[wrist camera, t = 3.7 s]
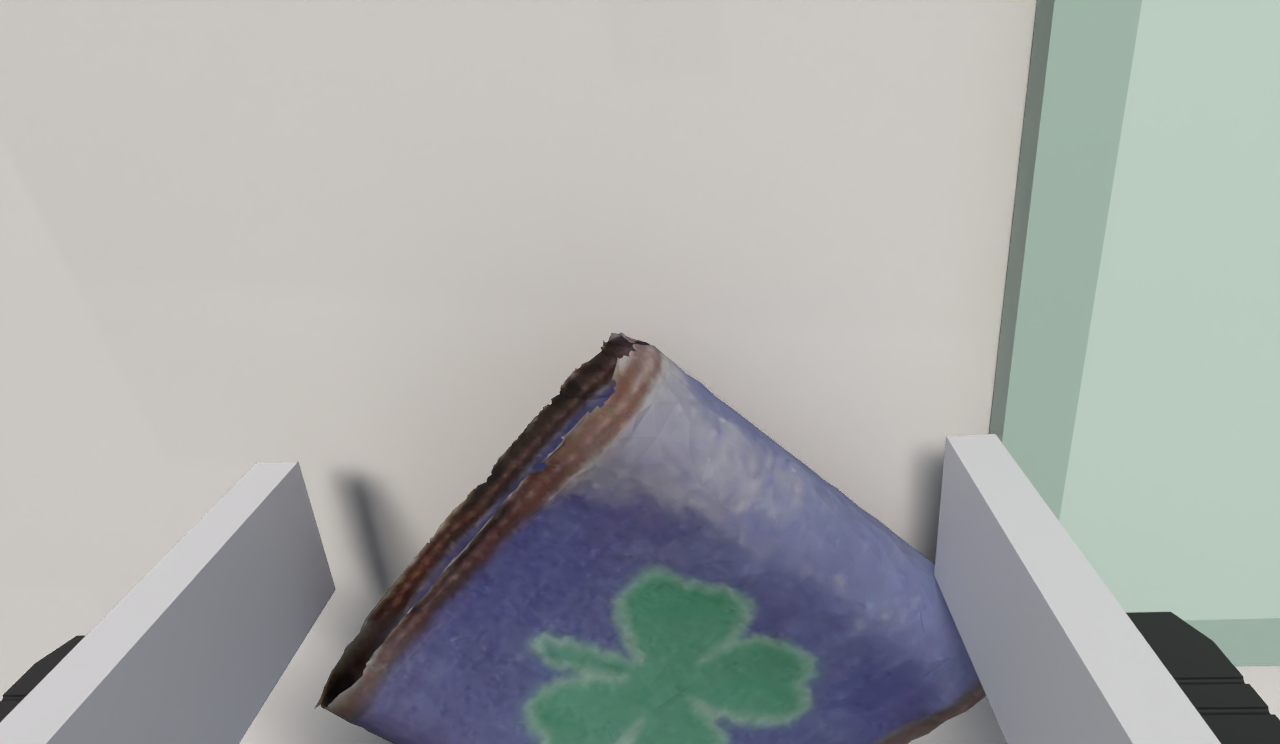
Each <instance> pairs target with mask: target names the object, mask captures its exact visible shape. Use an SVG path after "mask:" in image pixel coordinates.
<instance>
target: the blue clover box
mask: <svg viewBox="0 0 1280 744" xmlns="http://www.w3.org/2000/svg"><path fill="white" fill-rule="evenodd" d="M603 346H604V347H601V349H602V351H601V352H600V353H599V354H598V355H596V356H595V357H594V358H593V359H591V360H590V361H589V362H587V363H584V364H582V366H581V367H580V368H579V369H575V370H574V372H573V373H572V374H571V375H570V376H569V378H568V379H567V380H566V381H565V382H564V384H563V385H561V391H560V394H559V395H557V396H556V397H554V398H552V399H551V400H552V404H551V405H549V404H548V405H547V406H545V407H543V410H542V411H540V413H539V415H538V416H536V417H535V418H534V419H533V420H532V422H531V423H530V424H528V426H527V428H526V429H525V430H524V431H523V433H522V434H521V435H520V436H519V437H518V439H517V440H516V441H514V442H513V444H512V446H511V447H509V448H508V450H507V451H506V452H505V453H504V454H503V455H502V456H501V457H500V458H499V459H498V462H497V463H496V464H495V465H494V466H493V470H492V472H491V473H492V475H491V476H489V477H488V478H487V482H486V483H483V484H481V485H479V486H477V488H476V489H473V490H472V492H471V493H470V494H469V495H468V497H467V499H466V500H465V501H464V502H463V503H461V504H460V505H459V506H458V507H457V508H455V509H454V510H453V511H452V512H451V514H450V515H449V516H448V517H447V518H446V520H445V521H444V523H442V524H441V525H440V527H439V528H438V530H437V532H436V533H435V535H434V537H432V538H430V543H427V544H426V546H424V548H423V549H422V550H421V551H420V553H419V555H418V556H416V557H415V558H414V560H413V561H412V562H411V564H410V565H409V566H408V568H407V569H406V570H405V571H404V572H403V574H401V576H400V578H399V579H398V580H397V581H396V582H395V583H394V585H393V586H392V587H391V588H390V589H389V591H388V592H387V593H386V595H385V596H384V597H383V598H382V599H381V601H380V602H379V603H378V604H377V606H376V607H375V608H374V609H373V610H372V612H371V613H370V614H369V615H368V617H367V618H366V620H365V622H364V624H363V626H362V628H361V631H360V633H359V634H358V635H357V637H356V638H355V639H354V641H352V642H351V643H350V644H349V645H348V646H347V647H346V648H345V650H344V653H343V655H342V657H341V659H340V660H339V662H338V663H337V665H336V666H335V668H334V669H333V670H332V672H331V674H330V676H329V678H328V681H327V683H326V685H325V687H324V690H323V693H322V696H321V698H320V700H319V702H318V703H317V705H316V707H318V706H319V705H320V704H321V707H322V708H323V709H327V710H328V711H330V712H332V713H334V714H335V715H337V716H339V717H341V718H343V719H344V720H346V721H348V722H350V723H352V724H355V725H357V726H360V727H363V728H364V729H366V730H367V731H369V732H371V733H373V734H375V735H377V736H379V737H381V738H383V739H385V740H387V741H389V742H391V743H393V744H908V743H909V742H910V741H912V740H914V739H916V738H919V737H921V736H924V735H926V734H928V733H930V732H931V731H932V730H934V729H935V728H937V727H938V726H939V725H941V724H942V723H943V722H945V721H946V720H948V719H950V718H953V717H955V716H957V715H959V714H961V713H963V712H965V711H967V710H969V709H970V708H971V707H972V706H974V705H975V704H976V703H977V702H979V701H980V700H981V699H983V698H984V697H985V696H986V694H985V691H984V689H983V687H982V684H981V682H980V680H979V677H978V675H977V673H976V670H975V668H974V666H973V664H972V661H971V659H970V657H969V654H968V652H967V650H966V647H965V645H964V643H963V640H962V638H961V636H960V634H959V631H958V629H957V627H956V624H955V622H954V620H953V617H952V615H951V613H950V610H949V608H948V606H947V603H946V601H945V599H944V597H943V594H942V592H941V590H940V587H939V585H938V583H937V580H936V578H935V576H934V570H935V564H934V563H933V562H932V561H930V560H929V559H927V558H926V557H924V556H923V555H922V554H920V553H919V552H918V551H917V550H915V549H914V548H913V547H911V546H910V545H909V544H908V543H906V542H905V541H904V540H902V539H901V538H900V537H899V536H897V535H896V534H895V533H894V532H892V531H891V530H890V529H889V528H887V527H886V526H885V525H884V524H882V523H881V522H880V521H879V520H877V519H876V518H874V517H873V516H871V515H870V514H869V513H867V512H866V511H864V510H863V509H861V508H860V507H859V506H857V505H856V504H855V503H854V502H853V501H851V500H850V499H849V498H848V497H847V496H845V495H844V494H843V493H842V492H841V491H839V490H838V489H837V488H835V487H834V486H832V485H830V484H829V483H827V482H826V481H825V480H823V479H822V478H821V477H820V476H819V475H817V474H816V473H815V472H814V471H812V470H811V469H810V468H809V467H807V466H806V465H805V464H803V463H802V462H801V461H800V460H798V459H797V458H795V457H794V456H793V455H791V454H790V453H789V452H787V451H786V450H785V449H783V448H782V447H781V446H779V445H778V444H777V443H776V442H774V441H773V440H772V439H771V438H769V437H768V436H767V435H766V434H764V433H763V432H762V431H760V430H759V429H758V428H757V427H755V426H754V425H753V424H751V423H750V422H749V421H748V420H746V419H745V418H744V417H742V416H741V415H740V414H738V413H737V412H736V411H734V410H733V409H732V408H730V407H729V406H728V405H726V404H725V403H724V402H722V401H721V400H719V399H718V398H717V397H715V396H714V395H713V394H712V393H711V392H710V391H709V390H708V389H707V388H706V387H705V386H704V385H703V384H701V383H700V382H699V381H697V380H695V379H694V378H692V377H690V376H689V375H687V374H685V373H684V372H683V371H682V370H681V369H680V368H679V367H678V366H677V365H676V364H675V363H674V362H673V361H671V360H670V359H669V358H668V357H667V356H665V355H664V354H663V353H662V352H660V351H659V350H658V349H657V348H656V347H654V346H652V345H650V344H648V343H646V342H642V341H639V340H635V339H631V338H629V337H627V336H625V335H624V334H623V333H620V334H615V333H611V336H610V338H609V341H608V342H606V343H605V342H603ZM316 707H315V708H316Z"/></svg>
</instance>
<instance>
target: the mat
mask: <svg viewBox="0 0 1280 744" xmlns="http://www.w3.org/2000/svg"><path fill="white" fill-rule="evenodd" d="M989 434H996V435H997V437H998V438H999V440H1000V441H1001V442H1002V444H1003V445H1004V446H1005V448H1006V449H1007V451H1008V452H1009V453H1010V455H1011V456H1012V457H1013V459H1014V460H1015V462H1016V463H1017V464H1018V466H1019V467H1020V468H1021V470H1022V471H1023V473H1024V474H1025V475H1026V477H1027V478H1028V479H1029V481H1030V482H1031V483H1032V485H1033V486H1034V488H1035V489H1036V490H1037V492H1038V493H1039V494H1040V496H1041V497H1042V499H1043V500H1044V501H1045V503H1046V504H1047V505H1048V507H1049V508H1050V510H1051V511H1052V512H1053V514H1054V515H1055V516H1056V518H1057V519H1058V521H1059V522H1060V523H1061V525H1062V526H1063V527H1064V529H1065V530H1066V532H1067V533H1068V534H1069V536H1070V537H1071V538H1072V540H1073V541H1074V542H1075V544H1076V545H1077V547H1078V548H1079V549H1080V551H1081V552H1082V553H1083V555H1084V556H1085V558H1086V559H1087V560H1088V562H1089V563H1090V564H1091V566H1092V567H1093V569H1094V570H1095V571H1096V573H1097V574H1098V575H1099V577H1100V578H1101V580H1102V581H1103V582H1104V584H1105V585H1106V586H1107V588H1108V589H1109V591H1110V592H1111V593H1112V595H1113V596H1114V597H1115V599H1116V600H1117V601H1118V603H1119V604H1120V606H1121V607H1122V608H1123V610H1124V611H1125V612H1126V613H1130V612H1172V613H1173V614H1175V615H1176V616H1178V617H1179V618H1181V619H1182V620H1184V621H1185V622H1186V623H1188V624H1189V625H1191V626H1192V627H1194V628H1195V629H1197V630H1198V631H1199V632H1201V633H1202V634H1204V635H1205V636H1207V637H1208V638H1209V639H1211V640H1212V641H1214V642H1215V644H1216V645H1217V646H1218V647H1219V648H1220V650H1221V651H1222V652H1223V653H1224V654H1225V656H1226V657H1227V658H1228V659H1229V660H1230V662H1231V663H1232V664H1233V665H1234V666H1280V0H1037V9H1036V18H1035V27H1034V36H1033V45H1032V54H1031V63H1030V72H1029V81H1028V90H1027V99H1026V108H1025V117H1024V126H1023V135H1022V144H1021V153H1020V162H1019V171H1018V180H1017V189H1016V198H1015V207H1014V216H1013V225H1012V234H1011V243H1010V252H1009V261H1008V270H1007V279H1006V288H1005V297H1004V306H1003V315H1002V324H1001V333H1000V342H999V351H998V360H997V368H996V377H995V386H994V395H993V404H992V413H991V422H990V431H989Z"/></svg>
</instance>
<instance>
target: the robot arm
mask: <svg viewBox="0 0 1280 744" xmlns="http://www.w3.org/2000/svg"><path fill="white" fill-rule="evenodd" d="M934 576H935V578H936V580H937V583H938V585H939V587H940V590H941V592H942V594H943V597H944V599H945V601H946V603H947V606H948V608H949V610H950V613H951V615H952V617H953V620H954V622H955V624H956V627H957V629H958V631H959V634H960V636H961V638H962V640H963V643H964V645H965V647H966V650H967V652H968V654H969V657H970V659H971V661H972V664H973V666H974V668H975V670H976V673H977V675H978V677H979V680H980V682H981V684H982V687H983V689H984V691H985V694H986V696H987V698H988V701H989V703H990V705H991V707H992V710H993V712H994V714H995V717H996V719H997V721H998V724H999V726H1000V728H1001V731H1002V733H1003V735H1004V737H1005V740H1006V742H1007V744H1280V720H1279V719H1278V718H1277V717H1276V715H1271V714H1270V713H1269V710H1268V706H1267V705H1266V703H1265V702H1264V701H1263V700H1262V699H1261V697H1260V696H1259V695H1258V694H1257V693H1256V691H1255V690H1254V689H1253V688H1252V687H1251V685H1250V684H1245V683H1244V680H1243V676H1242V675H1241V673H1240V672H1239V671H1238V670H1237V669H1236V668H1235V666H1234V665H1233V664H1232V663H1231V662H1230V660H1229V659H1228V658H1227V657H1226V656H1225V654H1224V653H1223V652H1222V651H1221V650H1220V648H1219V647H1218V646H1217V645H1216V644H1215V642H1214V641H1212V640H1211V639H1209V638H1208V637H1207V636H1205V635H1204V634H1202V633H1201V632H1199V631H1198V630H1197V629H1195V628H1194V627H1192V626H1191V625H1189V624H1188V623H1186V622H1185V621H1184V620H1182V619H1181V618H1179V617H1178V616H1176V615H1175V614H1173V613H1172V612H1130V613H1126V612H1125V611H1124V610H1123V608H1122V607H1121V606H1120V604H1119V603H1118V601H1117V600H1116V599H1115V597H1114V596H1113V595H1112V593H1111V592H1110V591H1109V589H1108V588H1107V586H1106V585H1105V584H1104V582H1103V581H1102V580H1101V578H1100V577H1099V575H1098V574H1097V573H1096V571H1095V570H1094V569H1093V567H1092V566H1091V564H1090V563H1089V562H1088V560H1087V559H1086V558H1085V556H1084V555H1083V553H1082V552H1081V551H1080V549H1079V548H1078V547H1077V545H1076V544H1075V542H1074V541H1073V540H1072V538H1071V537H1070V536H1069V534H1068V533H1067V532H1066V530H1065V529H1064V527H1063V526H1062V525H1061V523H1060V522H1059V521H1058V519H1057V518H1056V516H1055V515H1054V514H1053V512H1052V511H1051V510H1050V508H1049V507H1048V505H1047V504H1046V503H1045V501H1044V500H1043V499H1042V497H1041V496H1040V494H1039V493H1038V492H1037V490H1036V489H1035V488H1034V486H1033V485H1032V483H1031V482H1030V481H1029V479H1028V478H1027V477H1026V475H1025V474H1024V473H1023V471H1022V470H1021V468H1020V467H1019V466H1018V464H1017V463H1016V462H1015V460H1014V459H1013V457H1012V456H1011V455H1010V453H1009V452H1008V451H1007V449H1006V448H1005V446H1004V445H1003V444H1002V442H1001V441H1000V440H999V438H998V437H997V435H996V434H983V435H958V436H946V443H945V455H944V467H943V478H942V490H941V501H940V513H939V524H938V536H937V547H936V559H935V570H934ZM335 590H336V589H335V586H334V582H333V579H332V576H331V572H330V569H329V565H328V562H327V558H326V555H325V551H324V548H323V545H322V541H321V538H320V534H319V531H318V527H317V524H316V521H315V517H314V514H313V510H312V507H311V503H310V500H309V496H308V493H307V490H306V486H305V483H304V479H303V476H302V472H301V469H300V466H299V462H298V461H296V462H271V463H256V464H255V465H254V466H253V467H252V468H251V469H250V470H249V471H248V472H247V473H246V474H245V475H244V476H243V477H242V478H241V479H240V480H239V481H238V482H237V483H236V484H235V485H234V486H233V487H232V488H231V489H230V490H229V491H228V492H227V493H226V494H225V495H224V496H223V497H222V498H221V499H220V500H219V501H218V502H217V503H216V504H215V505H214V506H213V507H212V508H211V509H210V510H209V511H208V512H207V513H206V514H205V515H204V516H203V517H202V518H201V519H200V520H199V522H198V523H197V524H196V525H195V526H194V527H193V528H192V529H191V530H190V531H189V532H188V533H187V534H186V535H185V536H184V537H183V538H182V539H181V540H180V541H179V542H178V543H177V544H176V545H175V546H174V547H173V548H172V549H171V550H170V551H169V552H168V553H167V554H166V555H165V556H164V557H163V558H162V559H161V560H160V561H159V562H158V563H157V564H156V565H155V566H154V567H153V568H152V569H151V570H150V571H149V572H148V573H147V574H146V575H145V576H144V577H143V578H142V579H141V580H140V581H139V582H138V583H137V584H136V585H135V586H134V587H133V588H132V589H131V590H130V591H129V592H128V593H127V595H126V596H125V597H124V598H123V599H122V600H121V601H120V602H119V603H118V604H117V605H116V606H115V607H114V608H113V609H112V610H111V611H110V612H109V613H108V614H107V615H106V616H105V617H104V618H103V619H102V620H101V621H100V622H99V623H98V624H97V625H96V626H95V627H94V628H93V629H92V630H91V631H90V632H89V633H88V634H87V635H86V636H76V637H74V638H73V639H71V640H70V641H68V642H67V643H65V644H64V645H62V646H61V647H59V648H58V649H56V650H55V651H53V652H52V653H50V654H49V655H47V656H46V657H44V658H43V659H41V660H40V661H38V662H37V663H35V664H34V665H33V666H32V667H31V668H30V669H29V670H28V671H27V672H26V673H25V674H24V675H23V676H22V677H21V678H20V679H19V680H18V681H17V682H16V683H15V684H14V685H13V686H12V687H11V688H10V689H9V690H8V691H7V692H6V693H4V694H3V699H2V701H0V744H239V743H240V741H241V739H242V738H243V736H244V735H245V733H246V731H247V730H248V728H249V727H250V725H251V723H252V722H253V720H254V719H255V717H256V715H257V714H258V712H259V711H260V709H261V707H262V706H263V704H264V703H265V701H266V700H267V698H268V696H269V695H270V693H271V692H272V690H273V688H274V687H275V685H276V684H277V682H278V680H279V679H280V677H281V676H282V674H283V672H284V671H285V669H286V668H287V666H288V664H289V663H290V661H291V660H292V658H293V656H294V655H295V653H296V652H297V650H298V648H299V647H300V645H301V644H302V642H303V641H304V639H305V637H306V636H307V634H308V633H309V631H310V629H311V628H312V626H313V625H314V623H315V621H316V620H317V618H318V617H319V615H320V613H321V612H322V610H323V609H324V607H325V605H326V604H327V602H328V601H329V599H330V597H331V596H332V594H333V593H334V591H335Z"/></svg>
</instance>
